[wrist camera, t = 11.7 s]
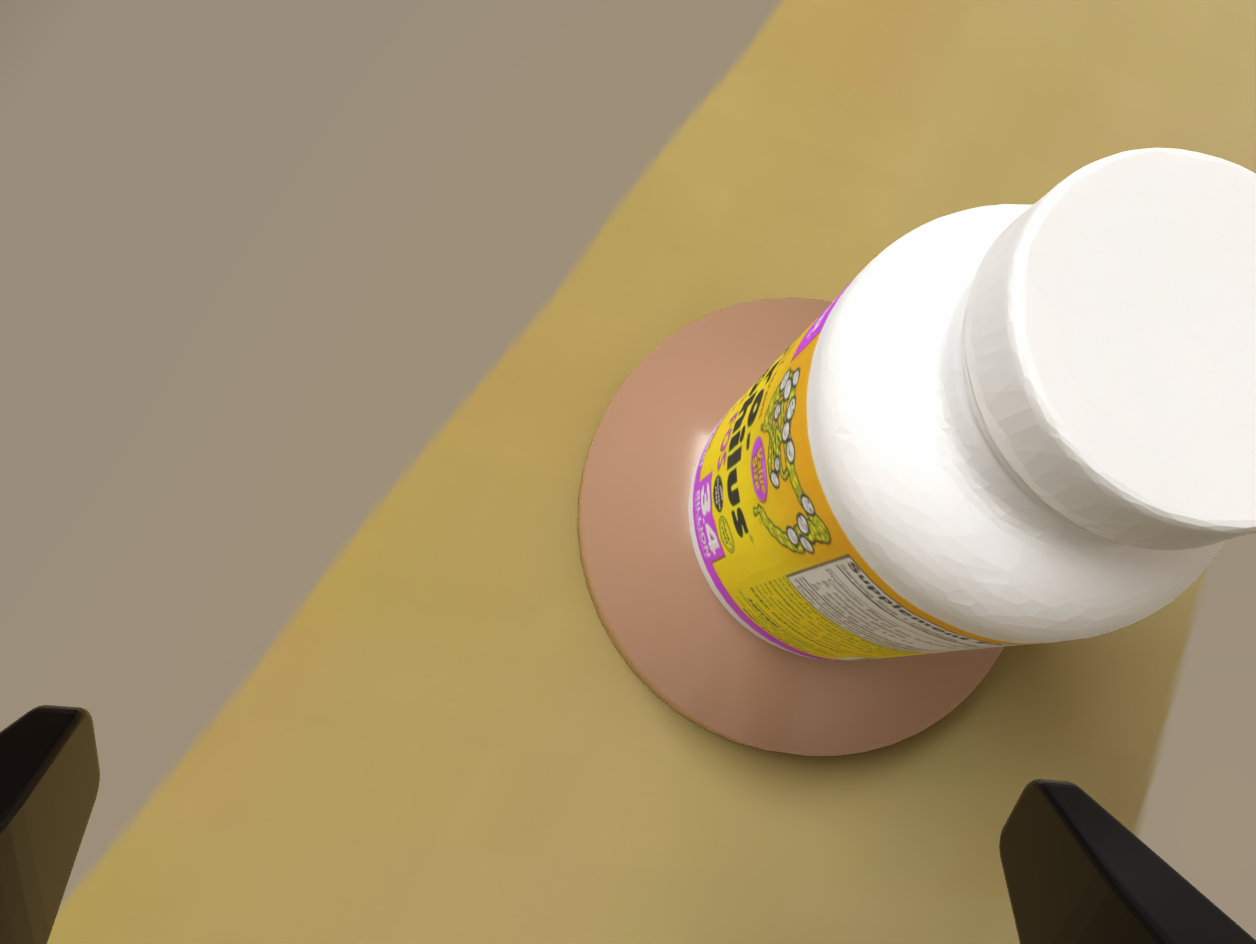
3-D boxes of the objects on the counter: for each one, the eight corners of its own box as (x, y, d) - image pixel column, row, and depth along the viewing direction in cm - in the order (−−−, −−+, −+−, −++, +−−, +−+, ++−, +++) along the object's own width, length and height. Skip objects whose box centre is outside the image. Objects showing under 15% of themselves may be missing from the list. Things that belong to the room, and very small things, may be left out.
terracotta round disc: (1006, 770, 24) (1033, 773, 23) (556, 735, 23) (561, 737, 22) (1001, 345, 27) (1025, 329, 26) (597, 288, 25) (603, 268, 24)
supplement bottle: (756, 338, 25) (1062, -33, 12) (989, 471, 25) (1520, 240, 12) (629, 575, 23) (836, 424, 10) (881, 717, 23) (1378, 735, 11)
